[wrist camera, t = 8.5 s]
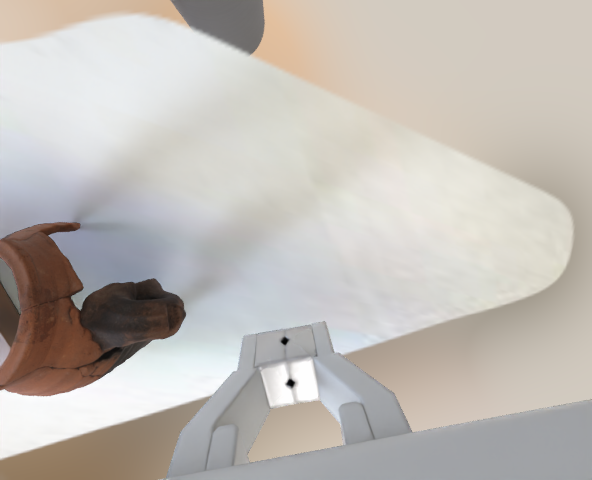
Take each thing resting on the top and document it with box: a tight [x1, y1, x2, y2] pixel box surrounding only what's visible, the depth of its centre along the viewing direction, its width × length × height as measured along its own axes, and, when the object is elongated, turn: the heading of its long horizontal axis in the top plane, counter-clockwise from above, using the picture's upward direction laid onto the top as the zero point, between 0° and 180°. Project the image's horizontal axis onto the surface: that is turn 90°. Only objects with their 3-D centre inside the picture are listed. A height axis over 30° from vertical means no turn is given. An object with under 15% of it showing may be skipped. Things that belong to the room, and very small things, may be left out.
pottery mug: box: [0, 222, 186, 396], centre depth 16 cm, size 12×10×8 cm
